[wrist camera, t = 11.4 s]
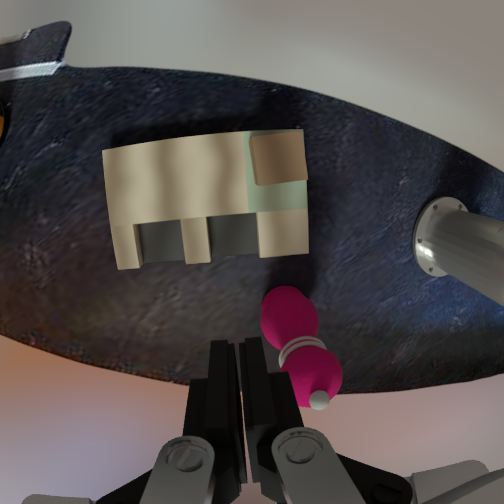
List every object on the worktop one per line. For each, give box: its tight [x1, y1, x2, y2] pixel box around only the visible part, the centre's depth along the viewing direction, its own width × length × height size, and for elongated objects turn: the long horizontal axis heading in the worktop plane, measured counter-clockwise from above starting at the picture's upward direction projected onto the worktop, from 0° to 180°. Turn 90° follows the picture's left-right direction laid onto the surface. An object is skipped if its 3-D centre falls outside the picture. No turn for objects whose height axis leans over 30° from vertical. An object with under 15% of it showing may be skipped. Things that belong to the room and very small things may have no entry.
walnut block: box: [248, 131, 308, 186], centre depth 31 cm, size 5×5×5 cm
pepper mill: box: [260, 286, 343, 410], centre depth 32 cm, size 7×7×20 cm
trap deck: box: [102, 129, 309, 270], centre depth 36 cm, size 24×15×2 cm, turn 94°
